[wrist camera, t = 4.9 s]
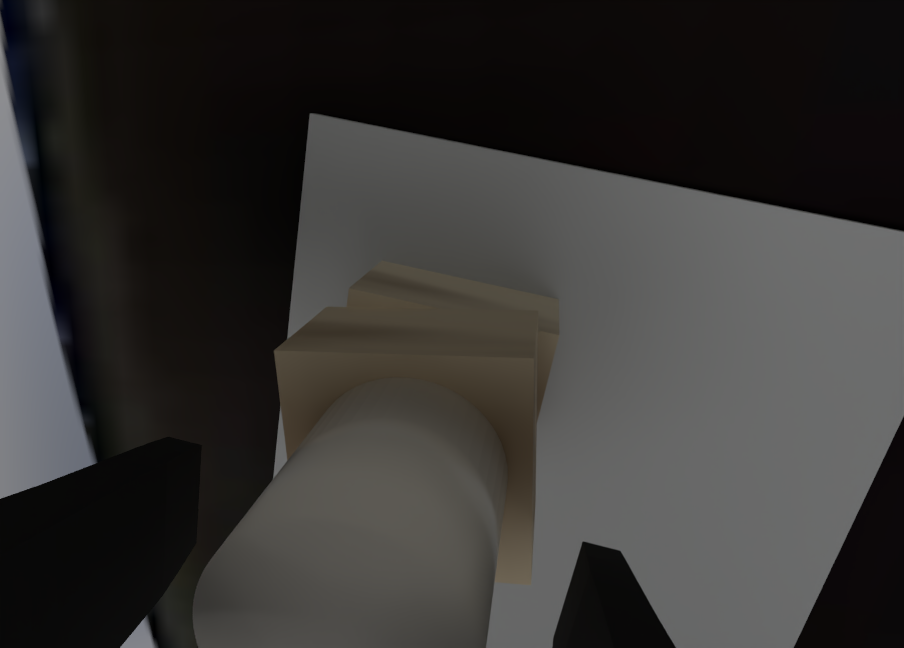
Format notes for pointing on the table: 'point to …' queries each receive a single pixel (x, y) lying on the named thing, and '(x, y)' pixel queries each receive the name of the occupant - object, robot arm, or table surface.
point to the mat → (646, 365)
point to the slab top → (435, 360)
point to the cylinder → (368, 531)
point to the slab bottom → (457, 302)
